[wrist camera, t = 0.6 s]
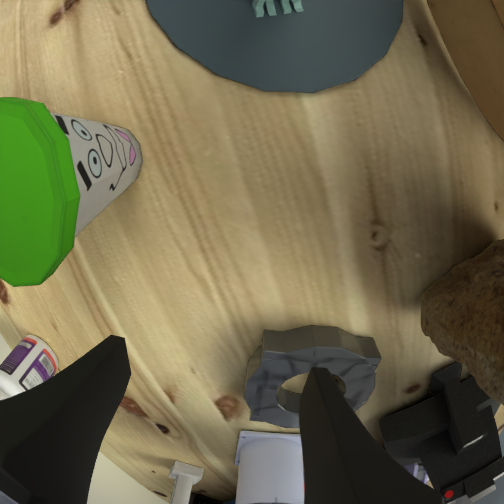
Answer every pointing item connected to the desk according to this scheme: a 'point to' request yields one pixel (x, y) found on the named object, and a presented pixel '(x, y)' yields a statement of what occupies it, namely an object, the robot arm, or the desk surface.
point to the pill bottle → (26, 366)
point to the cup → (54, 184)
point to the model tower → (183, 481)
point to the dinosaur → (282, 38)
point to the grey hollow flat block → (307, 370)
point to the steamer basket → (476, 50)
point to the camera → (450, 437)
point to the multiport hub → (200, 500)
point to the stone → (471, 317)
